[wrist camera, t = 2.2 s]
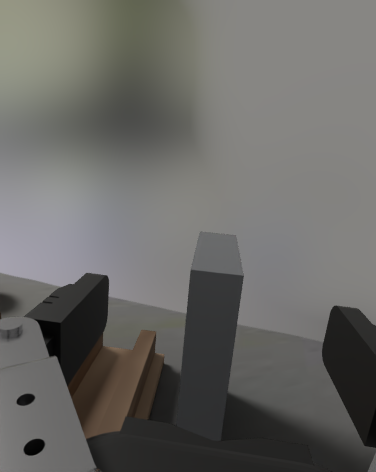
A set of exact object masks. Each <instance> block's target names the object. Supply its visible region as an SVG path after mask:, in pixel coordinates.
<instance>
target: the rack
mask: <svg viewBox="0 0 376 472" xmlns="http://www.w3.org/2000/svg"><path fill="white" fill-rule="evenodd" d="M0 319H1V313H0ZM155 342H156V332H155V331H148V330H141V332H140V335H139V337H138V339H137V341H136V344H135V346H134V348H133V350H128V349H120V348H113V347H105V346H103V333H102V335H101V336H100V338H99V339H98V341H97V342H96V344H95V345H94V347H93V349H92V350H91V352H90V353H89V355H88V356H87V358H86V359H85V361H84V362H83V364H82V365H81V367H80V368H79V370H78V371H77V373H76V374H75V376H74V377H73V379H72V380H71V382H70V383H69V385H68V390H69V393H70V396H71V399H72V402H73V404H74V407H75V410H76V413H77V416H78V419H79V421H80V424H81V427H82V430H83V433H84V436H85V438H86V439H87V438H90V437H92V436H96V435H99V434H103V433H108V432H115V431H120V430H121V428H122V425H123V422H124V419H125V416H127V417H133V418H140V419H146V420H149V417H150V413H151V409H152V405H153V401H154V398H155V394H156V390H157V386H158V383H159V379H160V375H161V371H162V367H163V364H164V354H158V353H155Z"/></svg>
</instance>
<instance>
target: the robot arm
mask: <svg viewBox="0 0 376 472" xmlns="http://www.w3.org/2000/svg"><path fill="white" fill-rule="evenodd" d="M108 292H109V279H108V276H106V275H99V274H91V273H86V274H85V275H84V276H82V277H81V279H79V280H78V281H77V282H76V283H75V284H69V285H66V286H64V287H61V288H58V289H57V290H56V291H54V292H53V293H52V294H51V295H50V296H49V297H47V298H46V299H45V300H43V302H42V303H40V304H39V305H37V306H36V307H35V308H34V309H33V310H31V311H30V312H29V313H28V314H26V315H25V316H24V317H9V318H4V319H0V472H332V471H330V470H328V469H326V468H324V467H322V466H320V465H318V464H315V463H313V461H312V458H311V454H310V451H309V448H308V445H303V444H297V443H290V442H284V441H278V440H272V439H265V438H253V439H238V440H223V441H215V440H211V439H208V438H206V437H203V436H201V435H198V434H195V433H193V432H190V431H188V430H185V429H183V428H180V427H178V426H175V425H172V424H170V423H165V422H158V421H152V420H146V419H140V418H133V417H127V416H125V419H124V422H123V425H122V428H121V430H120V431H115V432H108V433H103V434H99V435H96V436H92V437H90V438H87V439H86V438H85V436H84V433H83V430H82V427H81V424H80V421H79V419H78V416H77V413H76V410H75V407H74V404H73V402H72V399H71V396H70V393H69V390H68V385H69V383H70V382H71V380H72V379H73V377H74V376H75V374H76V373H77V371H78V370H79V368H80V367H81V365H82V364H83V362H84V361H85V359H86V358H87V356H88V355H89V353H90V352H91V350H92V349H93V347H94V345H95V344H96V342H97V341H98V339H99V338H100V336H101V335H102V333H103V332H104V329H105V326H106V323H107V316H108ZM322 357H323V362H324V365H325V367H326V369H327V371H328V373H329V375H330V377H331V379H332V381H333V383H334V385H335V387H336V389H337V391H338V393H339V395H340V397H341V399H342V401H343V403H344V405H345V407H346V409H347V411H348V413H349V415H350V417H351V419H352V421H353V423H354V425H355V427H356V429H357V432H358V434H359V436H360V438H361V440H362V442H363V444H364V446H369V447H375V448H376V326H375V325H373V324H372V323H371V322H370V321H369V320H368V319H367V318H366V316H365V315H364V314H363V313H362V312H361V311H360V310H359V309H357V308H350V307H342V306H334V307H333V308H332V310H331V312H330V317H329V321H328V325H327V330H326V334H325V339H324V343H323V348H322ZM368 472H376V453H375V456H374V458H373V460H372V463H371V465H370V468H369V470H368Z"/></svg>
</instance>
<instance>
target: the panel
mask: <svg viewBox="0 0 376 472" xmlns="http://www.w3.org/2000/svg"><path fill="white" fill-rule="evenodd" d="M243 277H244V275H243V270H242V264H241V259H240V253H239V248H238V243H237V238H236V235H228V234H218V233H209V232H200V234H199V238H198V242H197V247H196V250H195V254H194V259H193V263H192V267H191V273H190V284H189V294H188V306H187V315H186V326H185V337H184V347H183V358H182V369H181V380H180V390H179V401H178V412H177V423H176V426H178V427H180V428H183V429H185V430H188V431H190V432H193V433H195V434H198V435H201V436H203V437H206V438H208V439H211V440H215V441H221V435H222V428H223V421H224V413H225V406H226V399H227V392H228V385H229V378H230V370H231V363H232V356H233V349H234V342H235V334H236V327H237V319H238V311H239V306H240V299H241V291H242V284H243Z"/></svg>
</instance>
